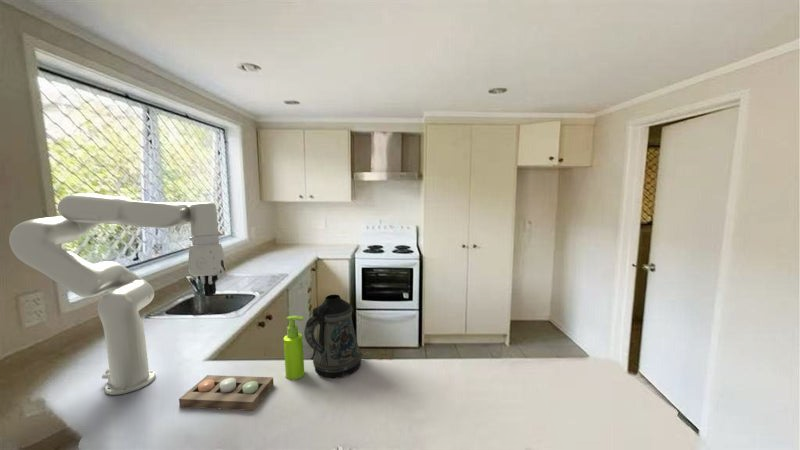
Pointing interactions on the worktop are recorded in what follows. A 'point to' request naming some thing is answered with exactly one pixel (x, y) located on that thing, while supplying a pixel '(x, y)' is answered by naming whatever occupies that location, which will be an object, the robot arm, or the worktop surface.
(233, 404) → the button panel
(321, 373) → the beer stein
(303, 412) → the worktop surface
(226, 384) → the white dome
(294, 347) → the soap dispenser
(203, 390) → the button terracotta
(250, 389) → the button sage
